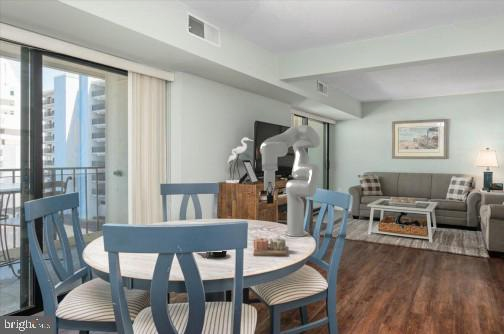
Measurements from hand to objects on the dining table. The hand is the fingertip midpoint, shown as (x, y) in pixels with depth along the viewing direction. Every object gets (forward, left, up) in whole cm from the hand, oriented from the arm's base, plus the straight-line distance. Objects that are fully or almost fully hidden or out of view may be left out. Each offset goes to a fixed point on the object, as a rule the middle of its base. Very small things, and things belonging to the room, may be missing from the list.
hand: (270, 201), depth 171 cm
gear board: (+7, 0, -23) cm, 24 cm away
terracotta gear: (+7, -4, -21) cm, 23 cm away
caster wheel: (+18, -25, -23) cm, 38 cm away
